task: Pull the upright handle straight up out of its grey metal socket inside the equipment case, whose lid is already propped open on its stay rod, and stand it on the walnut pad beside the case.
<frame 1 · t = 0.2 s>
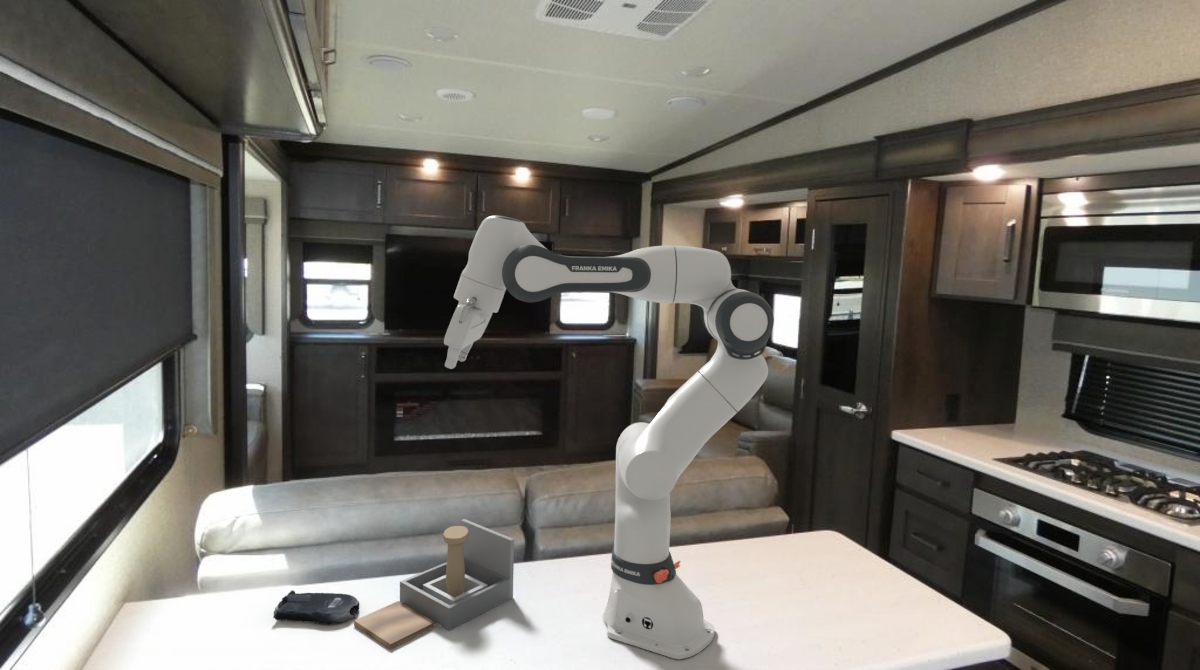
hand: (454, 363, 127), 51 cm above the kitchen island, tool tilted 20°, fingers open, 8 cm apart
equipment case: (455, 600, 139), on the kitchen island
electronic device: (320, 615, 132), on the kitchen island
walnut pad: (394, 626, 128), on the kitchen island
handle: (455, 601, 139), resting in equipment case
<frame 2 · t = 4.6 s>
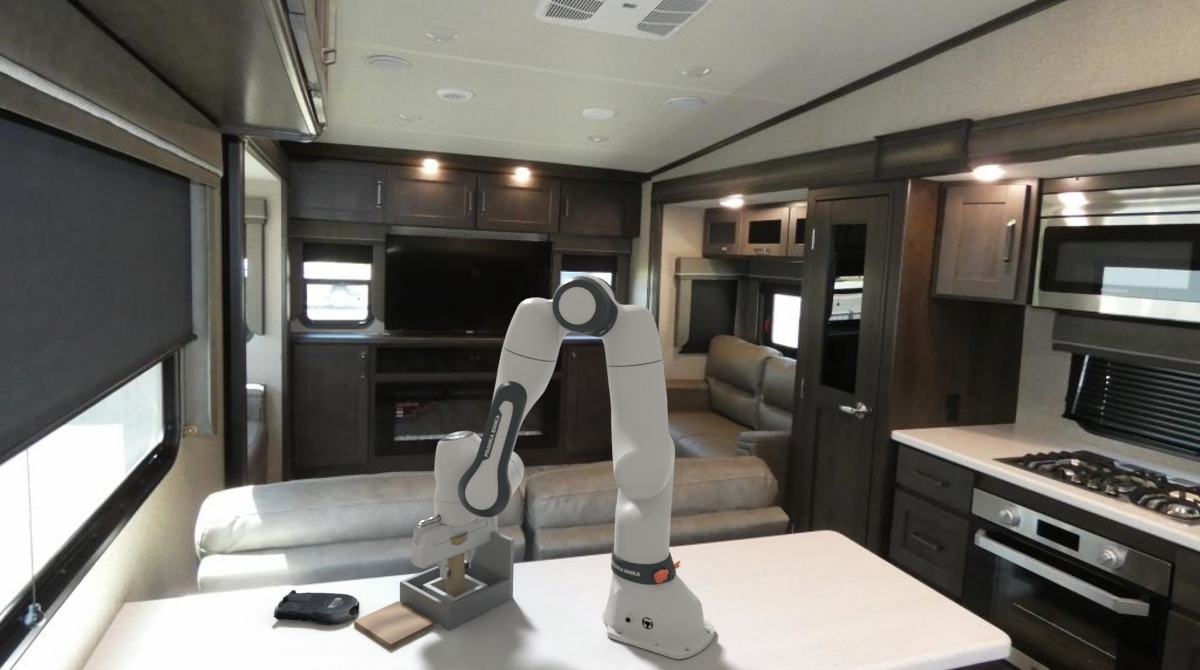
hand: (455, 573, 138), 6 cm above the kitchen island, tool pointing down, fingers closed on handle, 4 cm apart
handle: (455, 601, 139), resting in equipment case, touching gripper
everything else where it was.
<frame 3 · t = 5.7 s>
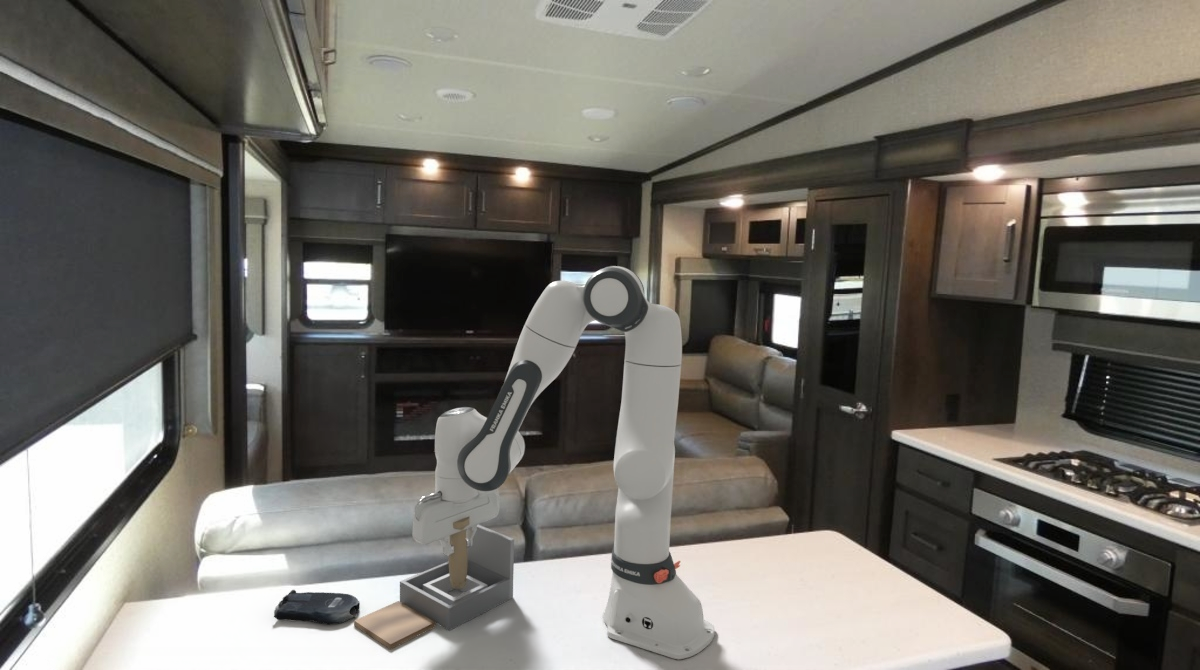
hand: (457, 550, 137), 11 cm above the kitchen island, tool pointing down, fingers closed on handle, 3 cm apart
handle: (458, 586, 138), point 3 cm above the kitchen island, touching gripper
everything else where it was.
when the fingers open (9 cm above the kitchen island, at t = 10.7 s): handle stays where it is, resting on walnut pad.
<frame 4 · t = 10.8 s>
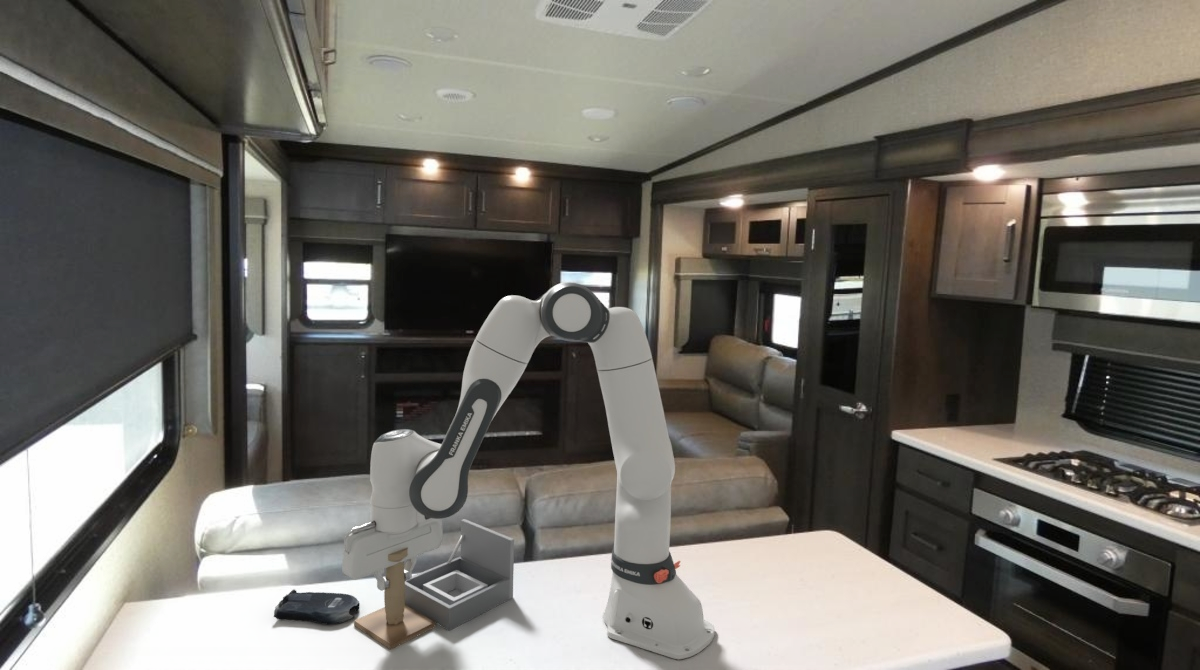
hand: (394, 583, 127), 9 cm above the kitchen island, tool pointing down, fingers open, 4 cm apart
handle: (394, 622, 128), point 1 cm above the kitchen island, touching walnut pad
everything else where it was.
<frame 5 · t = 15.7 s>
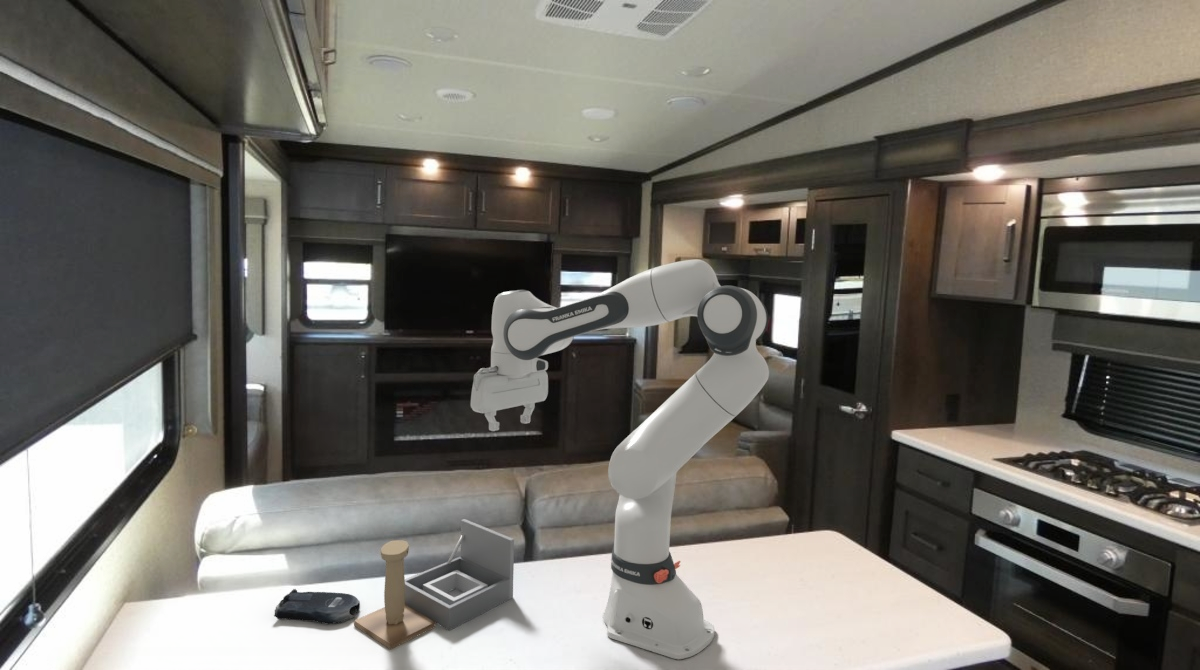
hand: (510, 426, 145), 35 cm above the kitchen island, tool pointing down, fingers open, 8 cm apart
nothing on the kitchen island moved.
at the end: handle inside the target area on the walnut pad (0.0 cm from its centre), point 0.8 cm above the walnut pad's base; handle tilted 0°; the gripper is holding nothing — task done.
